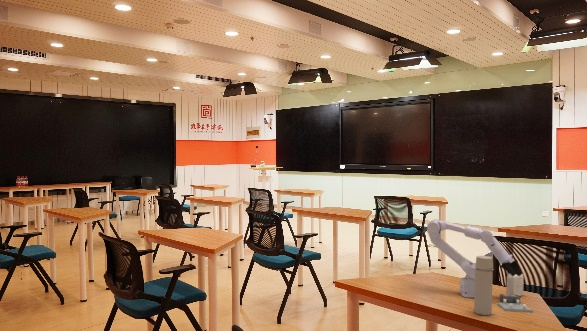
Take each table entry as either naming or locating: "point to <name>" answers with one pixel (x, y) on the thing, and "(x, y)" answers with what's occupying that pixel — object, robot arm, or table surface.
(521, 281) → the photo printer
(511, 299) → the block
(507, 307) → the grey mounting plate
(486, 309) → the water bottle
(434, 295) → the table surface
